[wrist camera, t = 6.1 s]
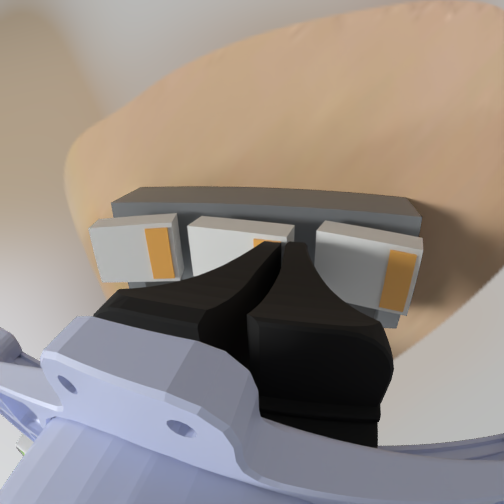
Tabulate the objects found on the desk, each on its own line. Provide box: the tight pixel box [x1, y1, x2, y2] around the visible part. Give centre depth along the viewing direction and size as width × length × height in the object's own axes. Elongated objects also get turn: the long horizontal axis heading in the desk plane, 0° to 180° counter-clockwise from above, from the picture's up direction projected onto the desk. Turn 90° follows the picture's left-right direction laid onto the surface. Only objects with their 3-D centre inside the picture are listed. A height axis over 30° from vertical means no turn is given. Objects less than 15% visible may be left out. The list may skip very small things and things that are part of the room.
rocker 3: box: [314, 220, 423, 316], centre depth 11 cm, size 3×4×1 cm
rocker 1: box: [88, 213, 184, 282], centre depth 13 cm, size 3×4×1 cm
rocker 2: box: [187, 216, 295, 276], centre depth 12 cm, size 3×4×1 cm
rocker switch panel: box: [111, 187, 422, 328], centre depth 15 cm, size 6×15×4 cm, turn 91°
